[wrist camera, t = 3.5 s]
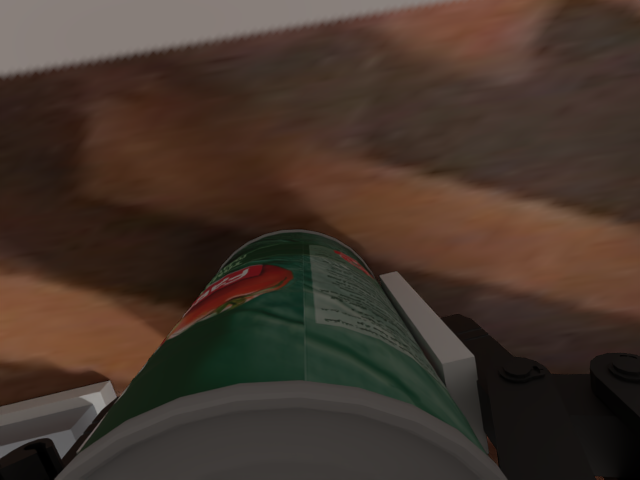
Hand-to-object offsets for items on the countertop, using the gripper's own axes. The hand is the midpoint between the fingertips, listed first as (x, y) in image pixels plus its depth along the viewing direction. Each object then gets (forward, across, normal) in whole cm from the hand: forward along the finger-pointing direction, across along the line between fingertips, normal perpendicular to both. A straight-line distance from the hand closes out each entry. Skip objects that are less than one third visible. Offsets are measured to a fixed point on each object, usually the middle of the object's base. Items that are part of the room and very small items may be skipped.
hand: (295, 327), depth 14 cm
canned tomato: (+1, 0, 0) cm, 1 cm away
